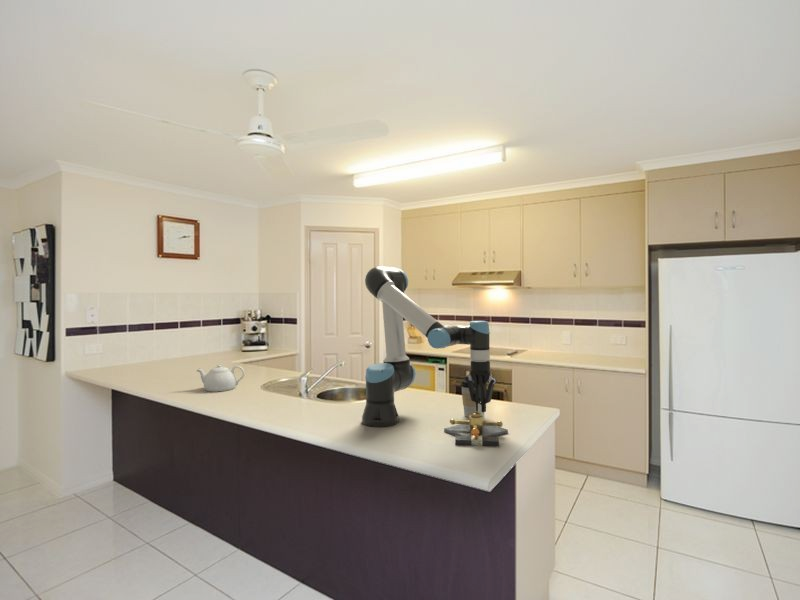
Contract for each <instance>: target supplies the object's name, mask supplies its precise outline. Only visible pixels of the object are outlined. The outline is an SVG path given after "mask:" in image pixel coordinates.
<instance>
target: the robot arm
mask: <svg viewBox="0 0 800 600" xmlns="http://www.w3.org/2000/svg"><path fill="white" fill-rule="evenodd" d="M364 282H365V283H364V284H365V286H366V289H367V290H368V292H369V293H370V294H371V295H372V296H373V297H374V298H375V299H376V300H378V301H380V302H381V304H382V305H381V306H382V315H383V317H382V318H383V330H384V331H383V332H384V343H385V354H386V355H385V357H384V359H383V360H382V361H383V362H379V363H374V364H372V365H369V366H368V367H367V368H366V369H365V370H366V371H365V407H364V409H363V413H362V415H361V416H362V417H361V422H362V424H363V425H364V426H368V427H375V428H383V427H391V426H393V425H397V424H398V423H399V414H398V411H397V407H396V404H395V393H396V392H399V391H402V390H405V389H407V388H409V387H410V386H411V385H412V384H413V383H414V381H415V379H416V371H415V367H414V366H413V365H412V363H411V361H410V360H411V359H410V357H409V356H408V355H407V354H406V353H407V351H406V343H405V342H406V341H405V339H406V338H405V329H404V328H405V327H404V320H405V321H407V322H408V323H409V324H411V326H413V327H414V328H415V329H416V330H417V331H419V332H420V333H421V334H422V335H424V337H426V338H427V343H428V344H429V346H431V348H433V349H436V350H437V349H445V348H448V347H451V346H456V345H469V348H470V349H469V350H470V353H469V354H470V355H469V357H470V373H469V375H468V376H465V377H464V380H466V381H467V384H468V388H469V392H470V396H471V400H472V401H474V402H475V403H476V411H478V413H481V416H483V421H485V413H486V412H487V404H489V403H491V401H492V396H493V391H494V387H495V384H496V383H497V379H496V378H494V377H492V375H491V361H490V358H491V352H490V348H491V347H490V333H491V332H490V324H489V322H488V321H486V320H471V321H470V322H469V325H456V324H455V325H454V324H450V325H444V324H442V323H441V322H440V321H438V320H437V319H436V318H434V317H433V316H432V315H431V314H429V313H428V312H427V311H426V310H425V309H424V308H423V307H421V306H420V305H419V304H418V303H416V302H414V300H412V299H411V298H410V297H409V296H408V295H406V294H405V291H406V290H407V288H408V285H409V279H408V276H407V274H406V273H405V271H403V270H402V269H400V268H397V267H394V266H391V267H390V266H375V267H373V268H370V269H369V270H368V272H366V275H365V279H364ZM472 379H473V381H474V384H473V381H472ZM474 386H475V388H474Z"/></svg>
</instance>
